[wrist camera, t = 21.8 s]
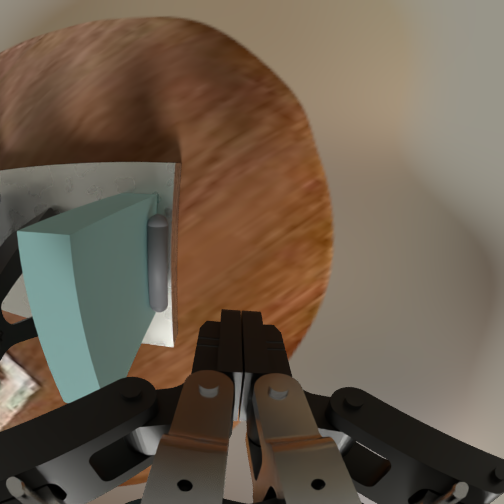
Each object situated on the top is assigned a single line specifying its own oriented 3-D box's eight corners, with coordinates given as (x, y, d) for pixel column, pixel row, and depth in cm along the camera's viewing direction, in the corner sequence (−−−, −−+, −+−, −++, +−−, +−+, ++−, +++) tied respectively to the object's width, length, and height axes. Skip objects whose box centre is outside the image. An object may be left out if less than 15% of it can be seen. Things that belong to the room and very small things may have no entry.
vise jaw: (174, 310, 19) (135, 421, 9) (125, 304, 19) (64, 401, 9) (175, 195, 16) (102, 237, 7) (121, 193, 16) (16, 230, 7)
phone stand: (11, 234, 16) (-91, 290, 5) (52, 206, 16) (-75, 260, 5) (54, 327, 19) (-18, 417, 8) (100, 313, 19) (23, 426, 8)
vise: (177, 333, 22) (144, 454, 11) (8, 300, 20) (-59, 359, 9) (181, 163, 18) (100, 165, 7) (-7, 171, 16) (-100, 193, 5)
